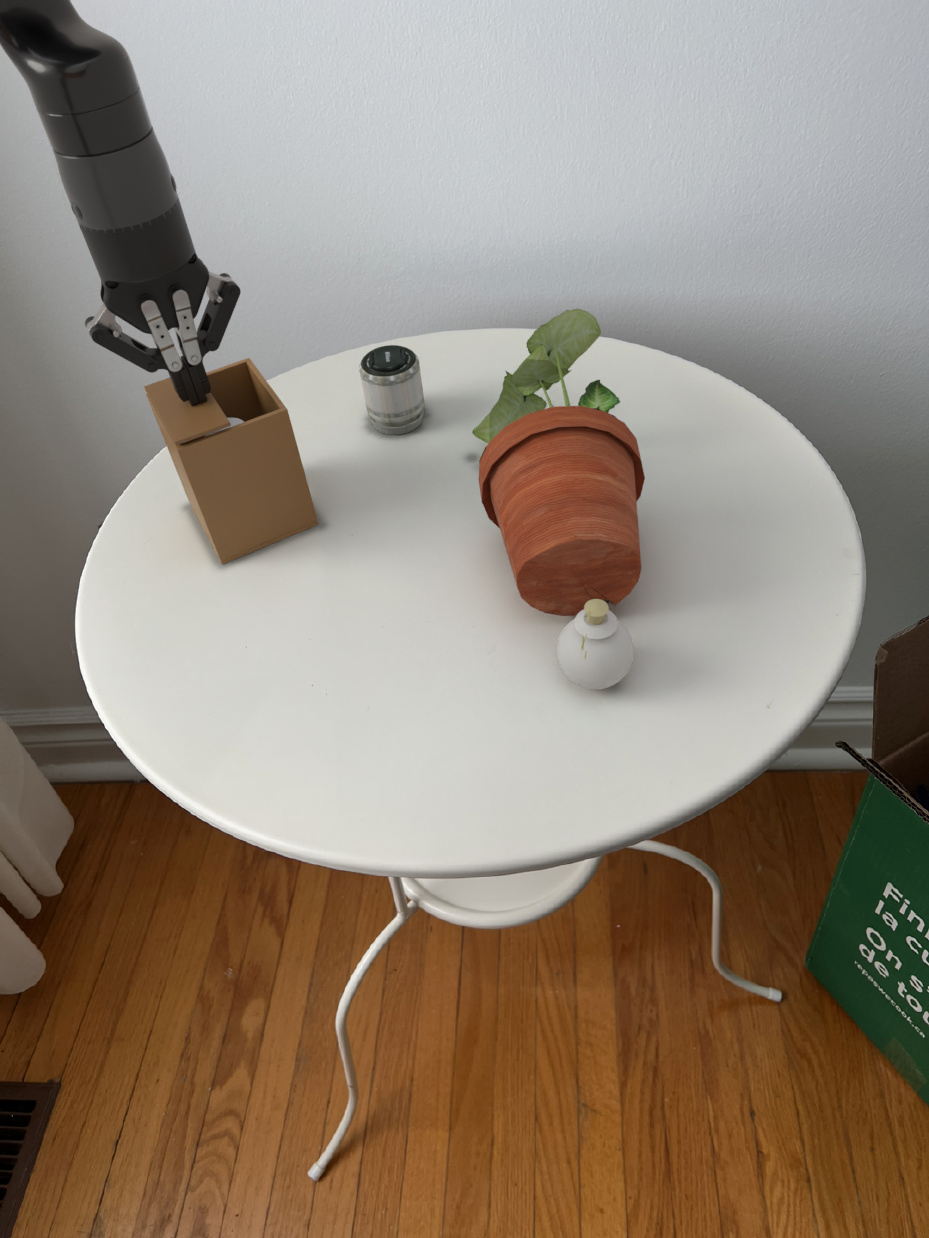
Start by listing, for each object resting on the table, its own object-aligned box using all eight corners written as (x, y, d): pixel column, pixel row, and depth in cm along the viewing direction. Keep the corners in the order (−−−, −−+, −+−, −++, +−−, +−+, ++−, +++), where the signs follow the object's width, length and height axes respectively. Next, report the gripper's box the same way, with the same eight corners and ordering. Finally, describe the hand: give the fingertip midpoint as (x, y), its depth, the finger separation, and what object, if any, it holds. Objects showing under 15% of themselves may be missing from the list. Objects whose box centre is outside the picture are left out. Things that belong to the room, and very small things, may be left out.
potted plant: (668, 631, 79) (604, 374, 100) (676, 509, 67) (602, 246, 88) (488, 655, 80) (463, 395, 101) (465, 539, 68) (441, 272, 89)
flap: (176, 445, 77) (174, 442, 76) (145, 390, 83) (143, 386, 83) (231, 425, 78) (229, 422, 78) (196, 372, 84) (195, 368, 84)
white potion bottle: (640, 656, 75) (648, 570, 68) (615, 727, 71) (621, 643, 64) (569, 639, 77) (569, 553, 70) (541, 707, 73) (538, 623, 65)
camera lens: (372, 441, 98) (359, 377, 92) (367, 407, 102) (355, 345, 96) (430, 431, 98) (421, 368, 92) (423, 398, 102) (414, 335, 97)
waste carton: (222, 564, 87) (177, 450, 77) (191, 506, 93) (145, 393, 83) (318, 524, 90) (287, 409, 80) (282, 471, 96) (249, 357, 86)
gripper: (196, 160, 72) (252, 355, 85) (26, 209, 68) (112, 404, 81) (226, 193, 67) (281, 394, 80) (46, 247, 64) (134, 448, 76)
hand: (196, 399), depth 81 cm, fingers closed
